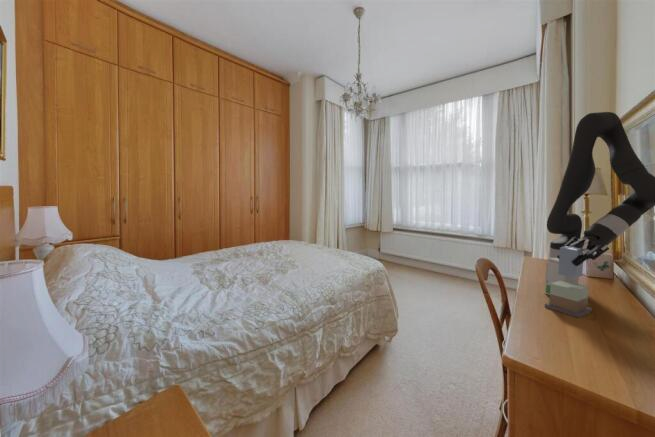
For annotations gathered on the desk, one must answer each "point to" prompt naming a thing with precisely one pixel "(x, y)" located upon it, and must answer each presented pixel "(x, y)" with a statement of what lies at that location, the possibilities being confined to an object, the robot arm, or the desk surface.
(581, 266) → the slate column brick
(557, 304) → the tower base
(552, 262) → the skincare box
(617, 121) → the robot arm
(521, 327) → the desk surface
